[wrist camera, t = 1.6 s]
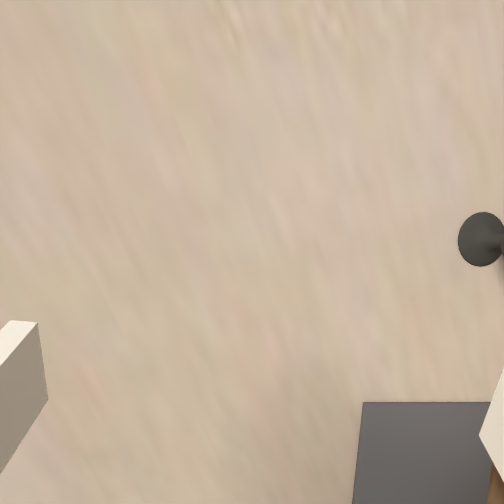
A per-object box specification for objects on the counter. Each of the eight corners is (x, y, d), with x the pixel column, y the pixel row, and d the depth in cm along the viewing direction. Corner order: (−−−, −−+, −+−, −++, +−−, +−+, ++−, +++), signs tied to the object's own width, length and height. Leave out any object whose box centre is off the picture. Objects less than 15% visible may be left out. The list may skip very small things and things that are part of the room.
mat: (478, 548, 45) (480, 550, 45) (346, 558, 42) (347, 561, 42) (497, 402, 44) (500, 403, 44) (363, 402, 41) (364, 403, 41)
